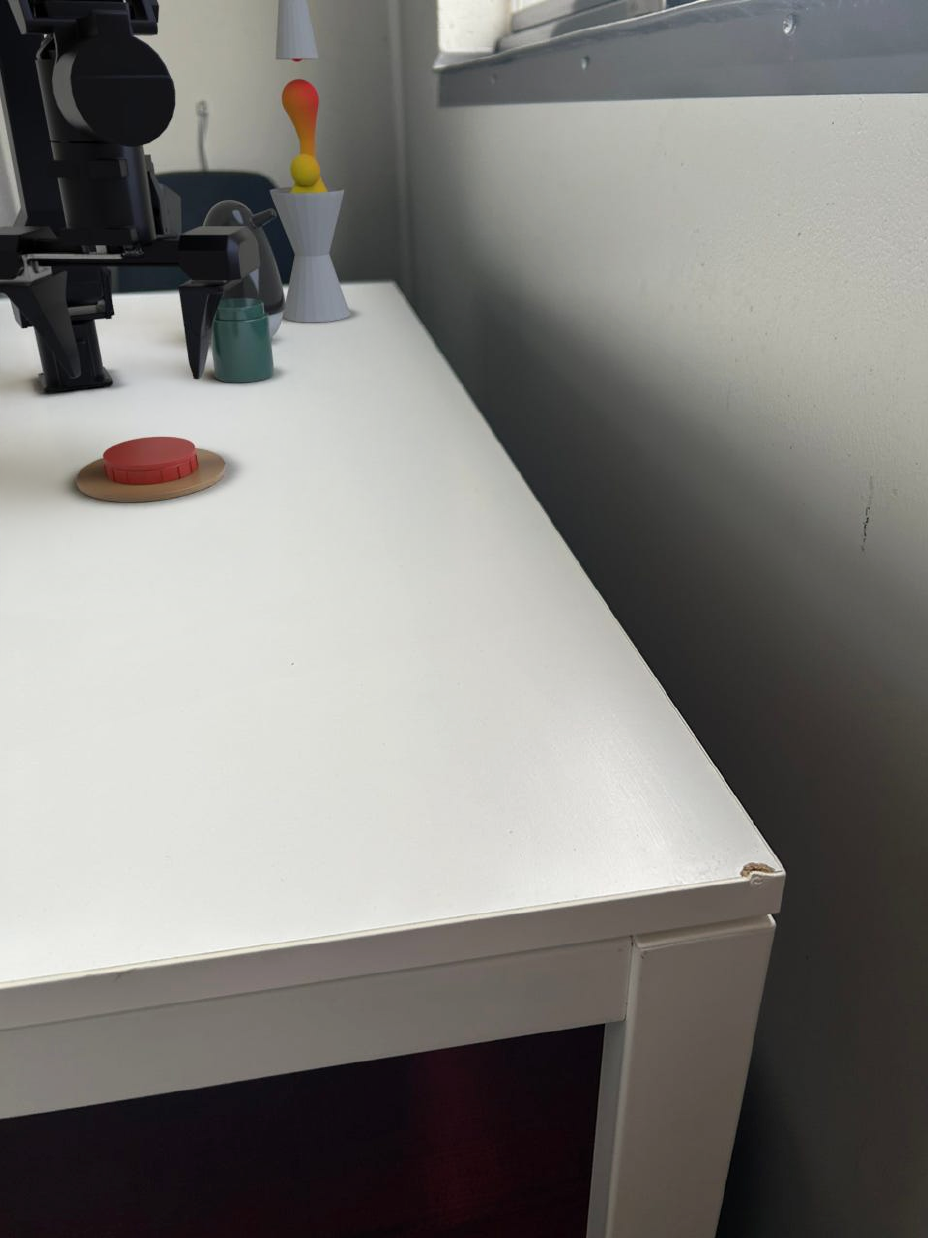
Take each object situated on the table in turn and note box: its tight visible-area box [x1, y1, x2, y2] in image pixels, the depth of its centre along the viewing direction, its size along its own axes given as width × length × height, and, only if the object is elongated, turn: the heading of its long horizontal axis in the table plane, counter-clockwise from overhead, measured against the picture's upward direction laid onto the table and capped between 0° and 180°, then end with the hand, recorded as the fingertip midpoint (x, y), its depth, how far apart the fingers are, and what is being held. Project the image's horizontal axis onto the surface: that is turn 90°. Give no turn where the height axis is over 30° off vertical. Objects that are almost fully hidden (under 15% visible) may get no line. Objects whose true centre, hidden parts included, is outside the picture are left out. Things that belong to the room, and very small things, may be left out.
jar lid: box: [102, 436, 198, 485], centre depth 75 cm, size 7×7×2 cm
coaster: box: [75, 447, 227, 503], centre depth 76 cm, size 11×11×1 cm
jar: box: [210, 298, 275, 384], centre depth 100 cm, size 6×6×7 cm
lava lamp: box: [269, 0, 351, 323], centre depth 119 cm, size 9×9×35 cm
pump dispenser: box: [202, 199, 286, 339], centre depth 111 cm, size 10×10×15 cm
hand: (136, 377), depth 72 cm, fingers open, 9 cm apart
